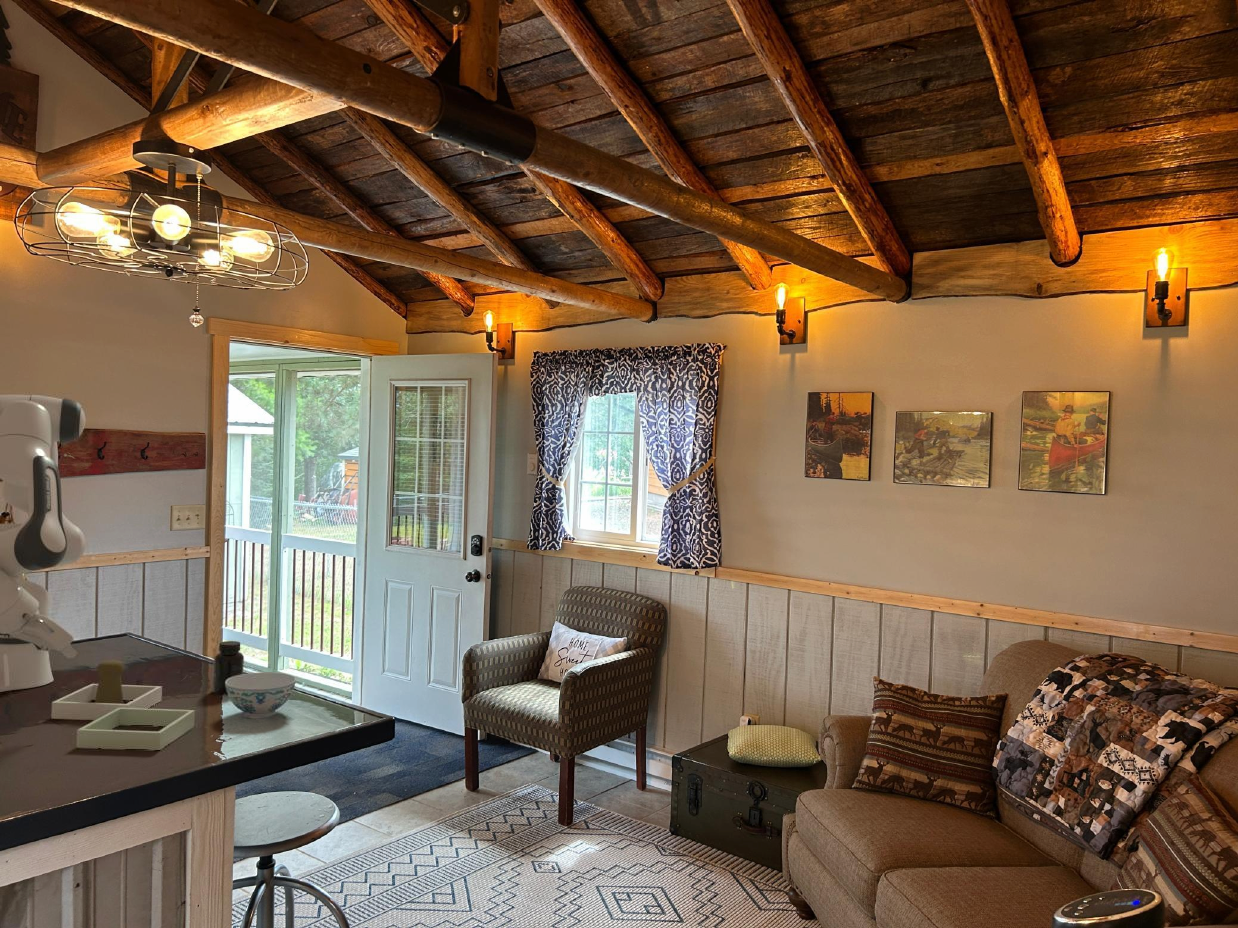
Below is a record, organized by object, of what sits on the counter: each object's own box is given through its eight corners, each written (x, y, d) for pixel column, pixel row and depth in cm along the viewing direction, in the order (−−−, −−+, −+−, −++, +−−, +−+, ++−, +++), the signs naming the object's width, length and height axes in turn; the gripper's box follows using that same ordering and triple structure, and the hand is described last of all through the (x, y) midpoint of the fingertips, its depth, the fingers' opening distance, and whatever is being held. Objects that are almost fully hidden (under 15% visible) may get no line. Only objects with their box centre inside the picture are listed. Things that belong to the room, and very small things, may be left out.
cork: (110, 714, 199) (112, 664, 199) (86, 711, 200) (88, 662, 200) (130, 707, 205) (132, 659, 205) (107, 704, 206) (109, 656, 206)
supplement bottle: (205, 692, 221) (208, 643, 221) (227, 686, 227) (229, 638, 227) (227, 696, 218) (229, 646, 218) (248, 690, 225) (250, 641, 224)
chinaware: (272, 701, 216) (274, 669, 216) (307, 714, 206) (309, 681, 206) (210, 712, 204) (212, 678, 204) (244, 727, 195) (246, 692, 195)
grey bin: (51, 718, 194) (52, 702, 194) (91, 698, 210) (92, 683, 210) (127, 721, 195) (128, 704, 195) (161, 701, 211) (162, 686, 211)
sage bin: (76, 747, 177) (77, 729, 177) (117, 723, 193) (118, 707, 193) (159, 750, 178) (160, 732, 178) (194, 726, 194) (194, 710, 194)
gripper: (51, 606, 182) (98, 647, 190) (2, 593, 193) (49, 633, 201) (25, 631, 178) (75, 672, 186) (-23, 617, 189) (26, 656, 197)
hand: (61, 652), depth 194 cm, fingers open, 8 cm apart
